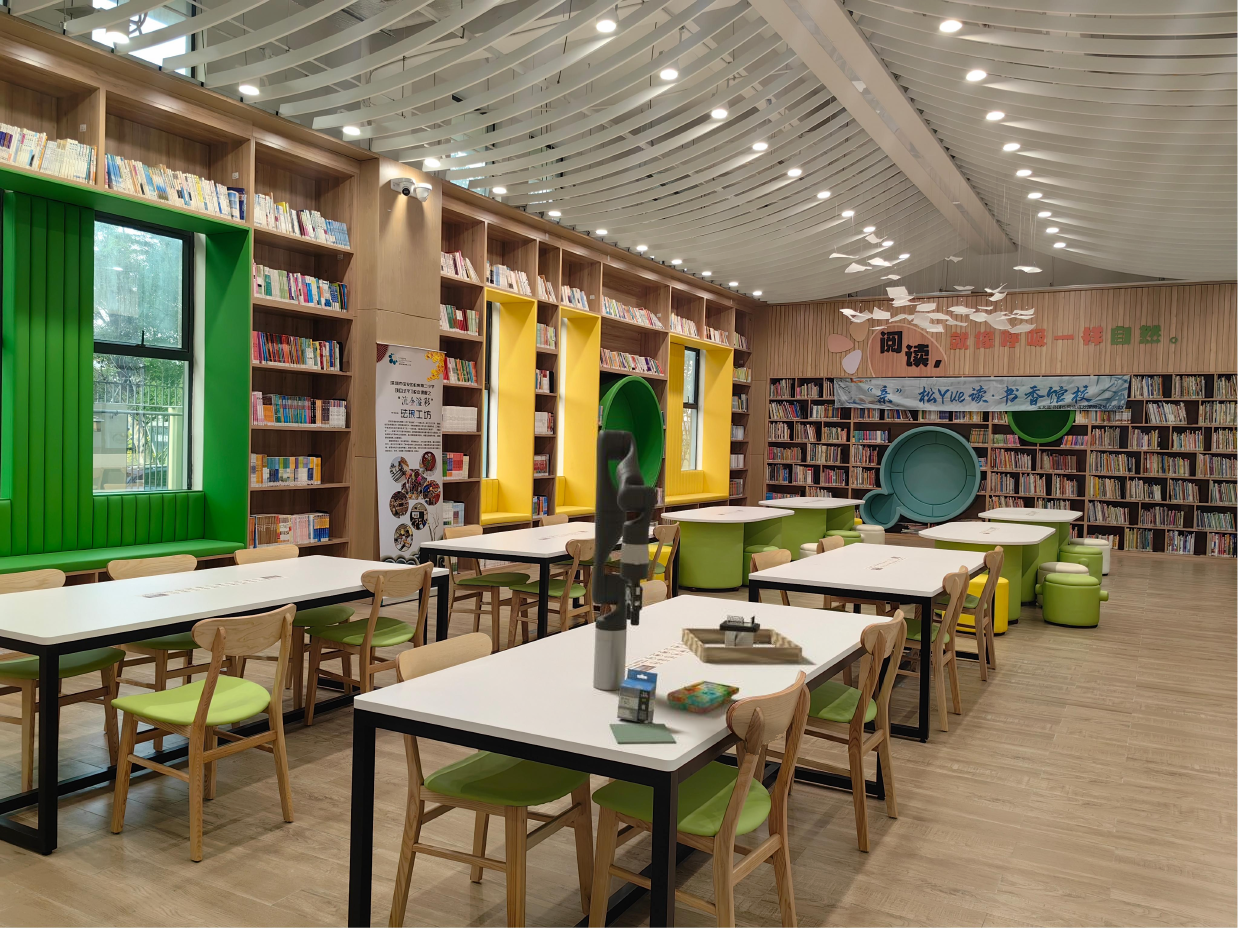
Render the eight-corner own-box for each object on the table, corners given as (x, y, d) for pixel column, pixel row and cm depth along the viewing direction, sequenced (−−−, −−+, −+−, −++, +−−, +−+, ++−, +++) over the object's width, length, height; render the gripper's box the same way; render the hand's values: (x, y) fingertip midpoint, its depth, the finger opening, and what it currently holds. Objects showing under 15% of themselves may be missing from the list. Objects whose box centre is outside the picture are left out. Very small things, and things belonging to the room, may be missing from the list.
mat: (609, 725, 226) (609, 723, 226) (664, 724, 228) (664, 723, 228) (617, 743, 212) (617, 741, 212) (675, 742, 215) (675, 741, 215)
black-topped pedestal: (691, 656, 311) (692, 617, 310) (708, 641, 335) (709, 606, 335) (772, 664, 302) (774, 625, 302) (784, 649, 327) (785, 613, 326)
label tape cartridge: (616, 717, 231) (620, 669, 232) (622, 716, 235) (627, 668, 236) (647, 723, 227) (651, 674, 228) (653, 722, 230) (658, 673, 232)
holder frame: (681, 641, 332) (682, 628, 332) (771, 642, 337) (772, 628, 337) (702, 662, 300) (703, 647, 300) (801, 662, 305) (802, 647, 305)
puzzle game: (667, 690, 245) (702, 677, 261) (666, 708, 245) (702, 693, 261) (705, 698, 238) (739, 684, 255) (704, 716, 238) (738, 700, 255)
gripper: (616, 556, 246) (614, 617, 246) (624, 563, 232) (622, 627, 232) (643, 557, 247) (641, 617, 247) (653, 564, 233) (651, 627, 233)
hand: (632, 622), depth 239 cm, fingers open, 7 cm apart
